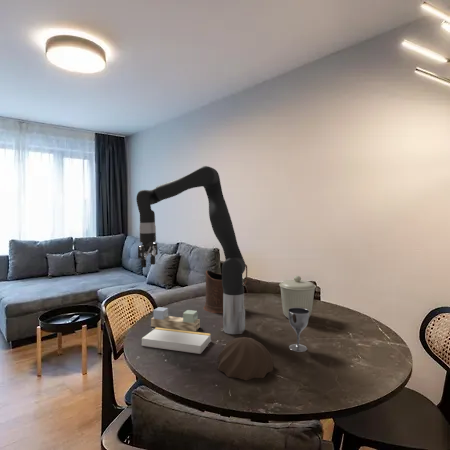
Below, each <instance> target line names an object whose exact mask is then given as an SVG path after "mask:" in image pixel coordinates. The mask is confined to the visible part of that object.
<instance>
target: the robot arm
mask: <svg viewBox="0 0 450 450" xmlns="http://www.w3.org/2000/svg"><path fill="white" fill-rule="evenodd" d="M200 187H203V188H204V191H205V193H206V197H207V199H208V217H209V220H210V225H211V228H212V231H213V233H214V235H215V238H216V239H217V240H218V242H219V244H220V246H221V248H222V250H223V254H224V258H225V259H224V261H223V263H222V264H221V265H222V266H221V274H222V287H223V313H222V316H223V317H222V321H223V323H222V329H223V332H224V333H225V334H228V335H242V334H243V333H244V332H245V329H246V309H245V286H243V284H244V283H243V273H245V272H246V266H245V264H246V262H245V260H244V256H243V254H242V252H241V250H240V247H239V245H238V241H237V237H236V232H235V229H234V226H233V221H232V218H231V214H230V212H229V208H228V206H227V202H226V200H225V197H224V194H223V188H222V184H221V178H220V175H219V172H218V171H217V170H216V169H215V168H214V167H211V166H209V165H208V166H207V165H203V166H200V167H199V168H197V169H196V170H194V171H192V172H190V173H188V174H186V175H183V176H182V177H179V178H176V179H174V180H171V181H168V182H165V183H162V184H160V185H157V186H155V188H153V189H140V190H139V191H138V192H137V195H136V199H135V200H136V207H137V208H138V212H139V242H140V243H142V245H138V246H137V254H138V255H137V258H138V259H140V261H141V262H140V263H141V266H140V267H141V268H147V257H148V256H149V255H150V257H149V258H150V260H149V261H150V265H153V266H154V265H155V264H156V256H157V255H158V253H159V251H158V243H157V236H156V235H157V234H156V233H157V232H156V231H157V229H156V216H155V211H154V210H153V209H152V205H155V204H158V203H161V201H163V200H167V199H171V198H173V197H176V196H178V195H180V194H182V193H183V192H186V191H188V190H190V189H195V188H200Z"/></svg>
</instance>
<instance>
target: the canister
mask: <svg viewBox="0 0 450 450" xmlns="http://www.w3.org/2000/svg"><path fill="white" fill-rule="evenodd" d="M278 286H279V287H280V294H281V295H280V297H281V306H282V313H283V316H285V317H286V318H287V319H289V317H288V310H289V309H290V308H294V307H299V308H305V309H307V310H309V318H310V317H311V316H312V312H313V311H312V310H313V305H314V304H313V303H314V296H315V289H316V288H317V286H316V285H315V284H314V283H313V282H311V281H309V280H304V279H302V278H301V276H300V275H295V276H294V277H293V279H286V280H283V281H281V282H280V283H279V284H278Z"/></svg>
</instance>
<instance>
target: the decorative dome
mask: <svg viewBox="0 0 450 450" xmlns="http://www.w3.org/2000/svg"><path fill="white" fill-rule="evenodd" d="M217 362H218V364H219V365H218V367H217V370H218V371H220V372H223V374H225V375H226V377H228V378H238V379H241V380H243V381H248V380H252V379H263V378H265V377H266V375H268V373H271V372H272V371H274V363H273V362H274V361H273V359H272V355H271V353H270V351H269V350H268V349H267V348H266V346H264V344H262V343H261V342H259V341H257V340H256V339H255V338H252V337H245V336H243V337H236V338H234V339H232V340H230V341H228V342H227V343H225V345H224V346H223V349H222V350H221V351H220V352H219V353H218V355H217Z"/></svg>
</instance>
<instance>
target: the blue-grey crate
mask: <svg viewBox="0 0 450 450" xmlns="http://www.w3.org/2000/svg"><path fill="white" fill-rule="evenodd" d="M152 312H153V317H154V319H161V320H164V319H165V318H167V317H168V316H169V308H168V307H161V306H158V307H157V308H155V309H153V311H152Z"/></svg>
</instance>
